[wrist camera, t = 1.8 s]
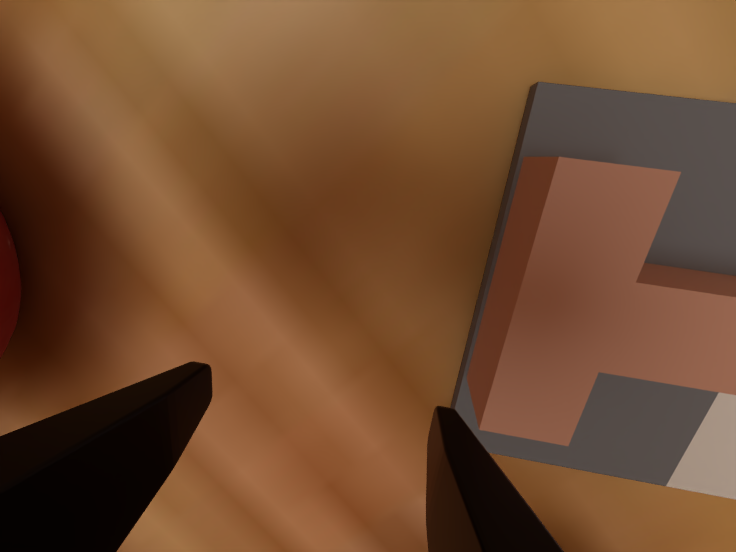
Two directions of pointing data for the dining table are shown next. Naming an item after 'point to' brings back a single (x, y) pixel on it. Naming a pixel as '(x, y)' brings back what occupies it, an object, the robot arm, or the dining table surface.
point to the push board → (669, 248)
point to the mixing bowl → (8, 285)
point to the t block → (591, 301)
